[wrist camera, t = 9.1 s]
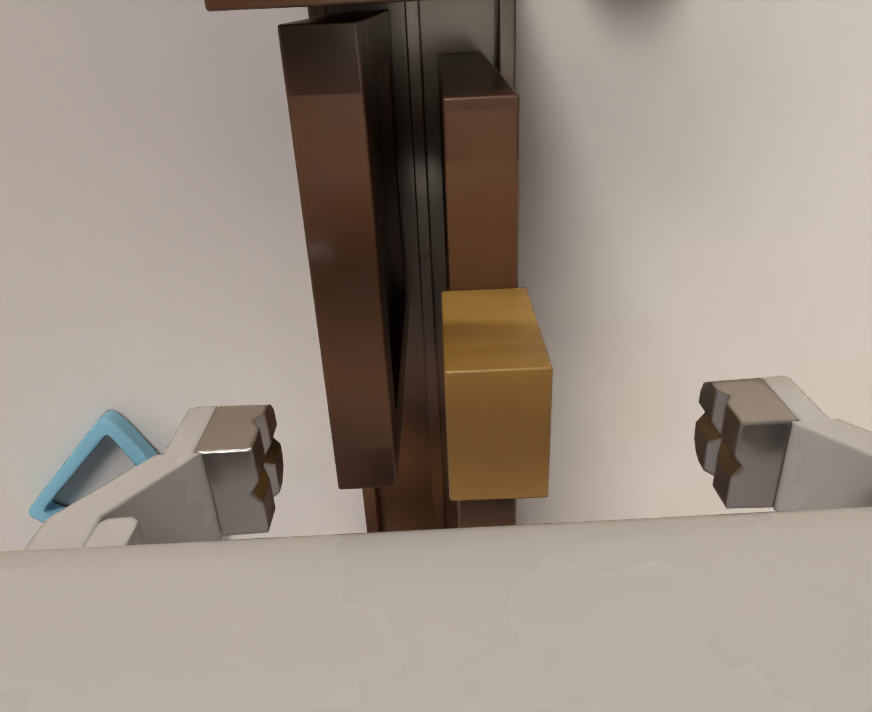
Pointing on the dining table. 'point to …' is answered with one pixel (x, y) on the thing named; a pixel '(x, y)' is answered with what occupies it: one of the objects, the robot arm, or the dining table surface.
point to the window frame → (381, 229)
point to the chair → (104, 426)
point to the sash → (488, 304)
